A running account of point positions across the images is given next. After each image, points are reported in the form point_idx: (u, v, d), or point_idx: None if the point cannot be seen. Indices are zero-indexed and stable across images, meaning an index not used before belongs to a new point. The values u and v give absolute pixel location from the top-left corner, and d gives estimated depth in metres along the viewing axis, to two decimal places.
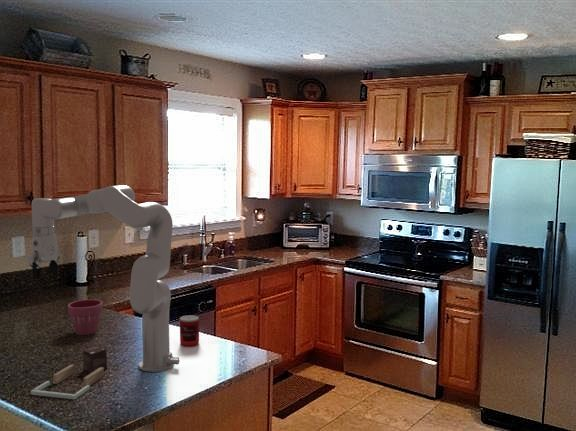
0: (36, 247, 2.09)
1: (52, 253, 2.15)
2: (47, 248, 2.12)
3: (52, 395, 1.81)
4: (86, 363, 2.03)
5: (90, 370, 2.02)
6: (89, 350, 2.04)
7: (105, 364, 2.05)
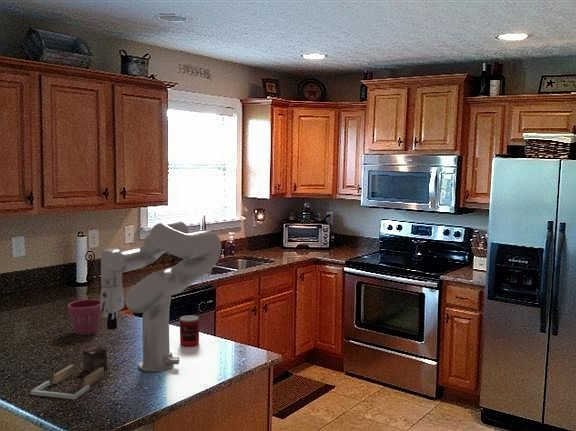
0: (105, 298, 2.11)
1: (119, 303, 2.16)
2: (115, 299, 2.13)
3: (52, 395, 1.81)
4: (86, 363, 2.03)
5: (90, 370, 2.02)
6: (89, 350, 2.04)
7: (105, 364, 2.05)
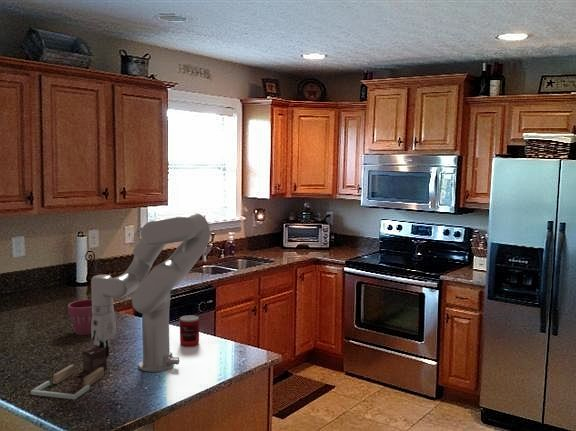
0: (96, 327, 2.05)
1: (111, 331, 2.10)
2: (106, 327, 2.07)
3: (52, 395, 1.81)
4: (86, 363, 2.03)
5: (90, 370, 2.02)
6: (88, 350, 2.03)
7: (105, 364, 2.05)
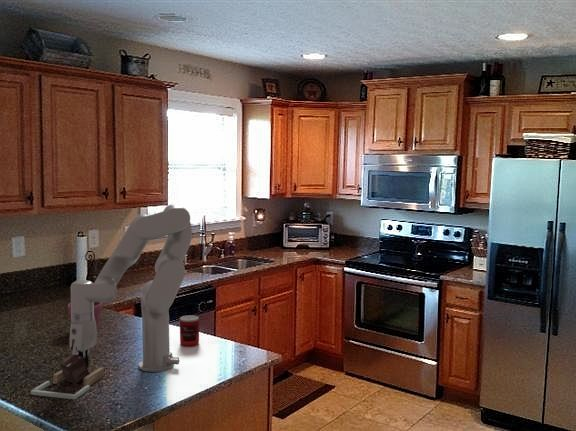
0: (74, 335, 1.93)
1: (91, 340, 1.98)
2: (86, 336, 1.95)
3: (52, 395, 1.81)
4: (66, 375, 1.92)
5: (72, 381, 1.92)
6: (65, 362, 1.92)
7: (86, 371, 1.94)
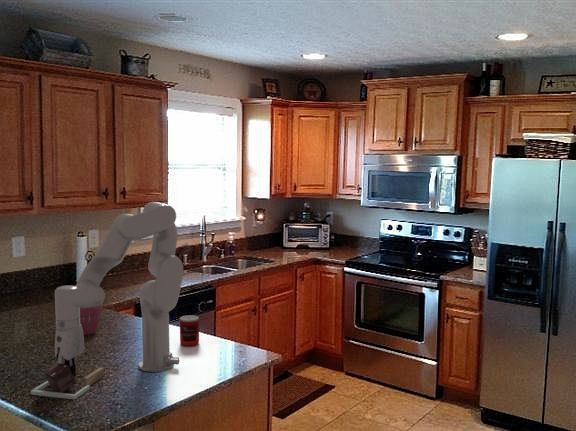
0: (60, 343, 1.85)
1: (77, 347, 1.90)
2: (72, 343, 1.88)
3: (52, 395, 1.81)
4: (51, 384, 1.85)
5: (57, 391, 1.84)
6: (50, 371, 1.84)
7: (72, 380, 1.86)
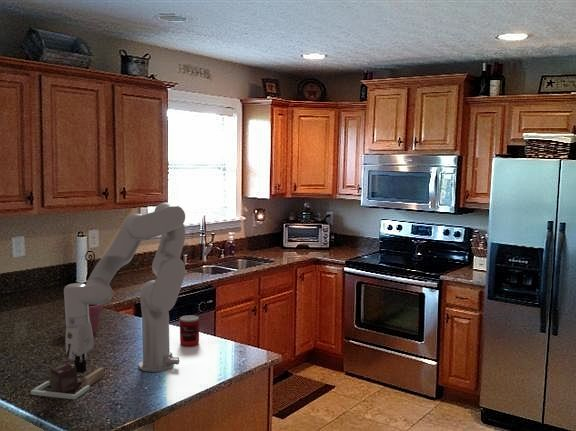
0: (70, 340, 1.89)
1: (87, 343, 1.94)
2: (82, 339, 1.92)
3: (52, 395, 1.81)
4: (54, 383, 1.85)
5: (58, 391, 1.84)
6: (57, 368, 1.86)
7: (75, 384, 1.87)
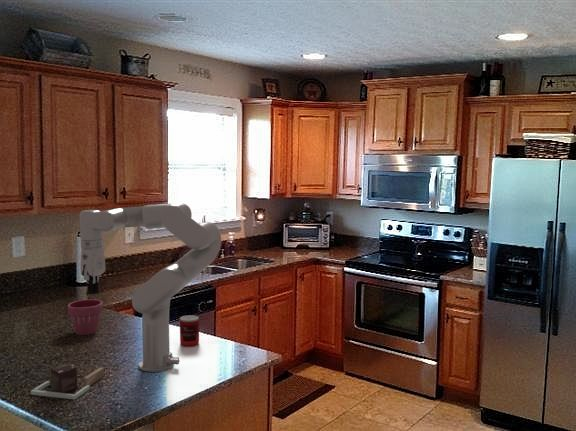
0: (85, 261, 2.03)
1: (100, 266, 2.08)
2: (96, 261, 2.05)
3: (52, 395, 1.81)
4: (54, 383, 1.85)
5: (58, 391, 1.84)
6: (57, 368, 1.86)
7: (75, 384, 1.87)
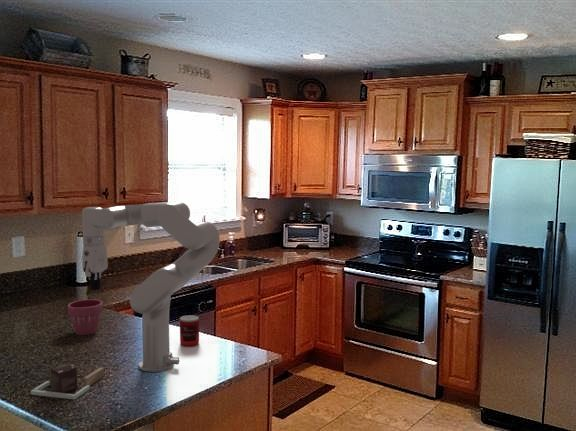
0: (87, 257, 2.05)
1: (102, 263, 2.10)
2: (98, 258, 2.07)
3: (52, 395, 1.81)
4: (54, 383, 1.85)
5: (58, 391, 1.84)
6: (57, 368, 1.86)
7: (75, 384, 1.87)
